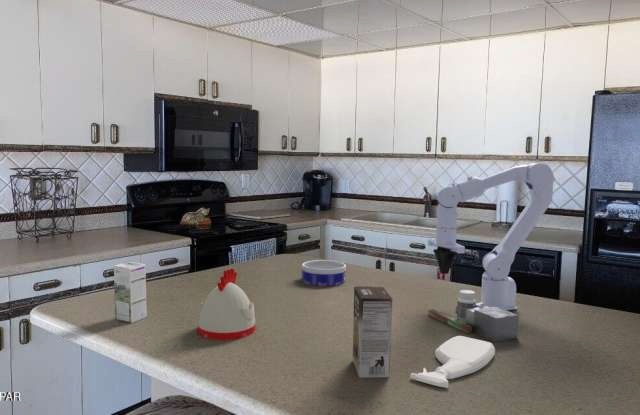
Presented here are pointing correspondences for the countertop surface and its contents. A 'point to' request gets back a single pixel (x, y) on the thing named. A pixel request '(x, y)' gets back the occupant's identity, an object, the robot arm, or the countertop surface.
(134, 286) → the syrup box
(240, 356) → the countertop surface
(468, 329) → the gauge rails
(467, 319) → the small grey block
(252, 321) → the kitchen timer
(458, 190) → the robot arm
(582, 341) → the countertop surface
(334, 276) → the dog bowl
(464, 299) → the pill bottle
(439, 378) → the spray bottle
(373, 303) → the coffee box
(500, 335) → the block
